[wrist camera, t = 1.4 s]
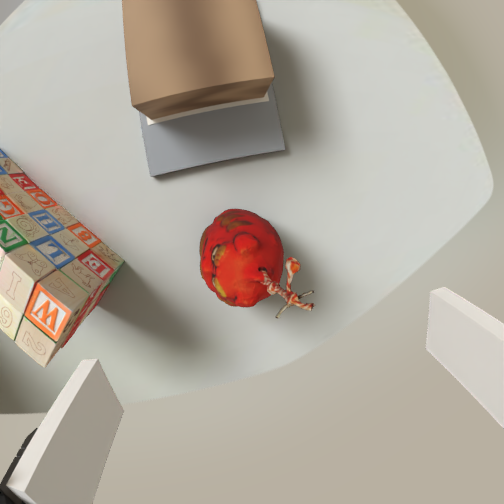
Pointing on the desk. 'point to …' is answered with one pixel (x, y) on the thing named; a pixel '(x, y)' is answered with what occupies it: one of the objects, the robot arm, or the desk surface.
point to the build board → (212, 134)
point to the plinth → (194, 54)
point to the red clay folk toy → (246, 261)
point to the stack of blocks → (45, 267)
